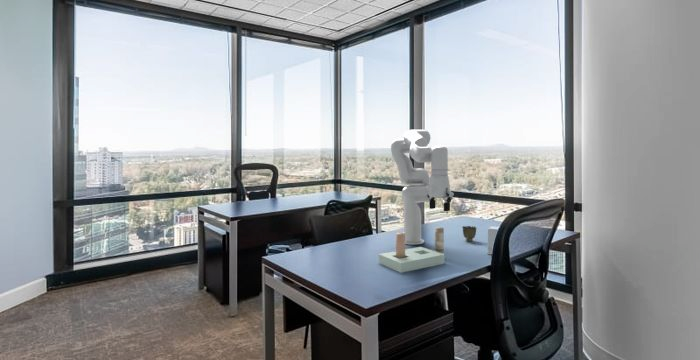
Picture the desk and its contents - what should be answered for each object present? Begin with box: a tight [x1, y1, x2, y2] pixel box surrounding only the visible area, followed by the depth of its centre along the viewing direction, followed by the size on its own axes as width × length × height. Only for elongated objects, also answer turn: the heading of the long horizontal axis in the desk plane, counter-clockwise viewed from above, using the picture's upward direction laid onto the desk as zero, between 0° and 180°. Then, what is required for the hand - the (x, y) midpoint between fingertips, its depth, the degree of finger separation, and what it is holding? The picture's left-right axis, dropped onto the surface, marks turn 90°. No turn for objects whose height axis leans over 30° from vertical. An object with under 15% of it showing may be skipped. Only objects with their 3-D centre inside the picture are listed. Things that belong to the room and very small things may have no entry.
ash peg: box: [434, 227, 445, 254], centre depth 178 cm, size 4×4×14 cm
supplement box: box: [487, 225, 500, 255], centre depth 183 cm, size 7×7×13 cm
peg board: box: [378, 246, 446, 274], centre depth 166 cm, size 16×24×5 cm, turn 119°
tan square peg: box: [395, 232, 406, 259], centre depth 163 cm, size 4×4×14 cm
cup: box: [462, 225, 477, 243], centre depth 209 cm, size 8×7×8 cm
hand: (439, 209), depth 176 cm, fingers open, 9 cm apart
